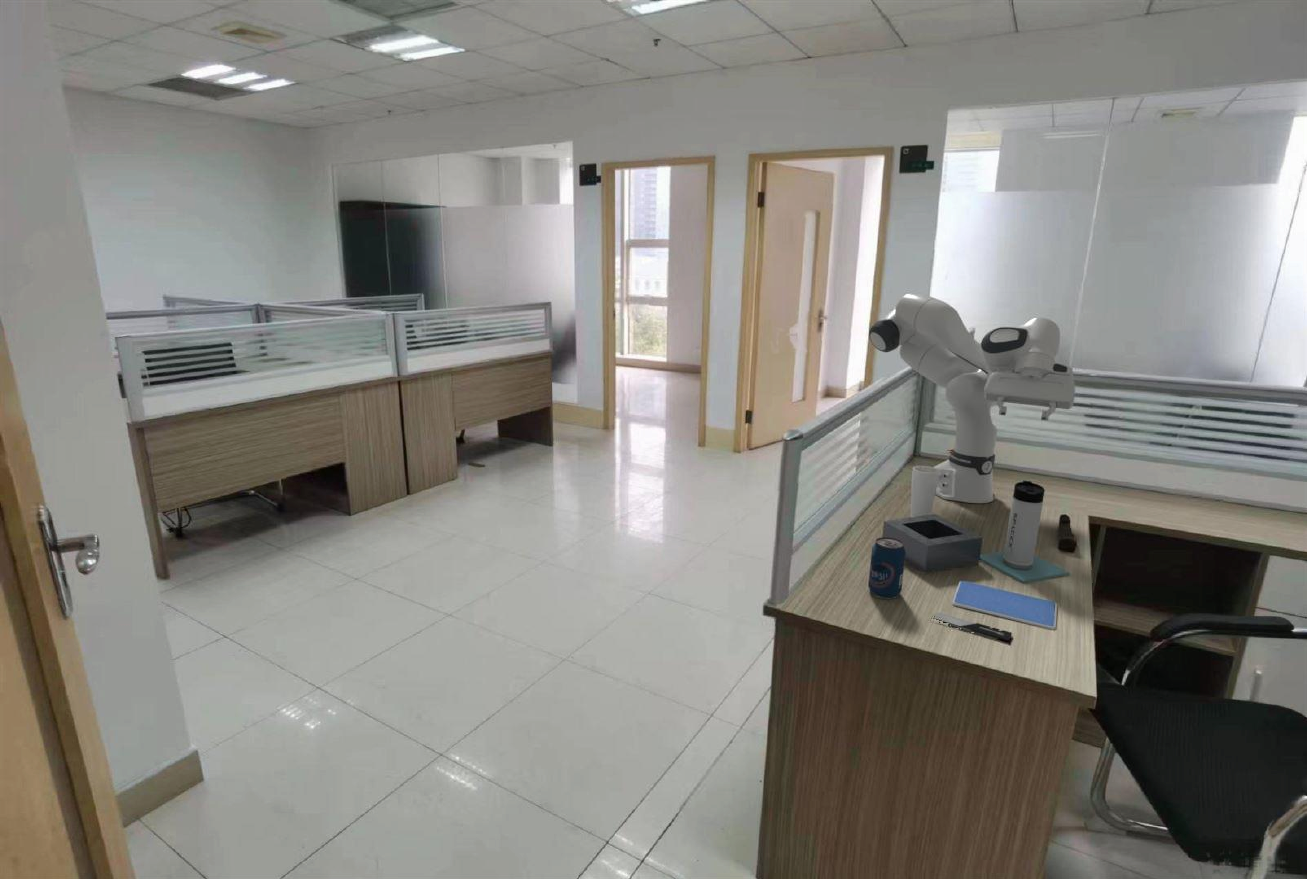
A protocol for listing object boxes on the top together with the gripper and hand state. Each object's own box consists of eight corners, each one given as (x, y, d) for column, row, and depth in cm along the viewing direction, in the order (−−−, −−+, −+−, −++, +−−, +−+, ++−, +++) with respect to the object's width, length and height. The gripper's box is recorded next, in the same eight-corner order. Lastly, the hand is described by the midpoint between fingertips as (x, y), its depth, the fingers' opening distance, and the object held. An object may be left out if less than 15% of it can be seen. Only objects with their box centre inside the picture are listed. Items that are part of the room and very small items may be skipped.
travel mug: (1028, 560, 165) (1041, 481, 160) (1034, 571, 159) (1048, 490, 154) (1000, 556, 167) (1012, 479, 162) (1005, 567, 161) (1017, 487, 156)
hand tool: (1075, 555, 170) (1078, 538, 169) (1056, 551, 172) (1060, 534, 171) (1073, 530, 186) (1076, 514, 185) (1056, 527, 188) (1059, 511, 187)
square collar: (881, 546, 174) (883, 521, 172) (932, 538, 179) (935, 513, 177) (924, 573, 159) (927, 545, 157) (978, 564, 164) (982, 537, 162)
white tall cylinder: (933, 518, 193) (939, 467, 189) (932, 526, 187) (938, 474, 183) (908, 514, 196) (914, 464, 192) (906, 522, 190) (911, 470, 186)
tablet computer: (1056, 606, 146) (1057, 601, 145) (1055, 633, 135) (1056, 627, 135) (959, 584, 155) (959, 579, 155) (950, 607, 145) (951, 602, 144)
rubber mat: (976, 558, 167) (976, 555, 167) (1020, 550, 172) (1020, 548, 172) (1022, 583, 155) (1023, 580, 155) (1069, 574, 159) (1069, 572, 159)
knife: (930, 618, 138) (935, 610, 141) (929, 622, 138) (934, 614, 141) (1010, 642, 130) (1014, 633, 133) (1010, 646, 130) (1013, 637, 133)
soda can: (862, 593, 149) (867, 542, 146) (875, 582, 154) (880, 533, 151) (893, 603, 145) (899, 551, 142) (905, 592, 150) (911, 541, 147)
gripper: (988, 361, 178) (977, 404, 173) (1080, 368, 167) (1070, 414, 162) (989, 375, 183) (978, 417, 178) (1077, 384, 172) (1068, 429, 167)
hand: (1023, 416), depth 170 cm, fingers open, 8 cm apart
